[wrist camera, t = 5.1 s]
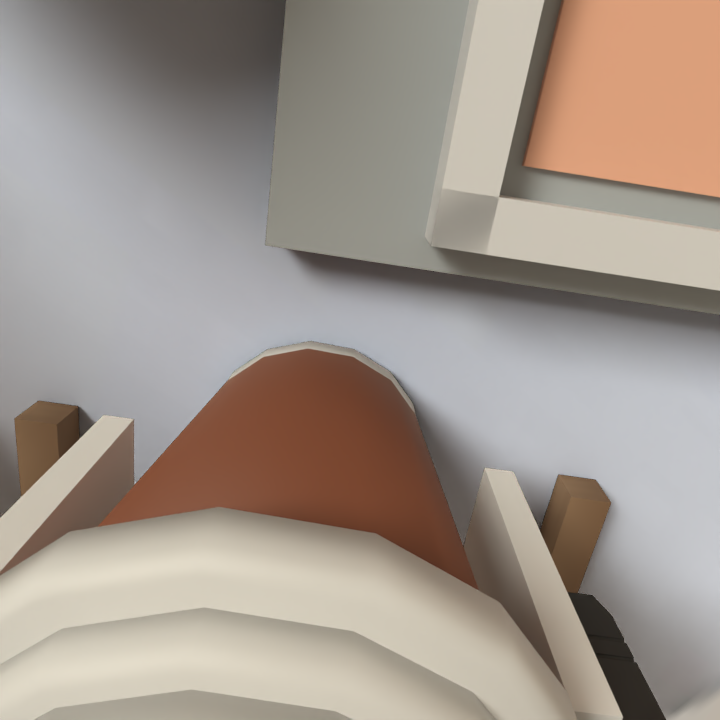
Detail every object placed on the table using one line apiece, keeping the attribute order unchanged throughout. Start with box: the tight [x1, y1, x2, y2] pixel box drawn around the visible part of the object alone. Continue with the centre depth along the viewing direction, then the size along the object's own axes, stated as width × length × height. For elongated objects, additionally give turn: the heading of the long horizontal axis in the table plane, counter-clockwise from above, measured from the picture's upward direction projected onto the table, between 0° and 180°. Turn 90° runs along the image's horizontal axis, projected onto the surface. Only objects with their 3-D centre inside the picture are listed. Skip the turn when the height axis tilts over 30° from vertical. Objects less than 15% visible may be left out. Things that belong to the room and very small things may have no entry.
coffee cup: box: [0, 341, 577, 720], centre depth 11 cm, size 9×9×12 cm
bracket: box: [14, 401, 611, 593], centre depth 18 cm, size 17×9×1 cm, turn 82°
